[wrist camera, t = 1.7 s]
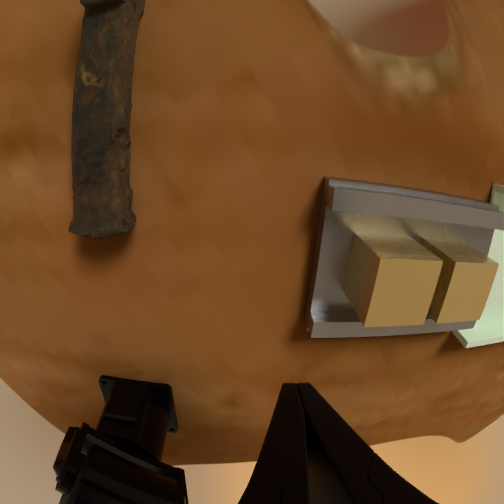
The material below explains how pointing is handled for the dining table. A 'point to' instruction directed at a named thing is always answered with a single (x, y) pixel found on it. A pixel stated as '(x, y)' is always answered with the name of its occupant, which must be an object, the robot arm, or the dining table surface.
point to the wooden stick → (104, 118)
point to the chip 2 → (460, 281)
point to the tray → (500, 298)
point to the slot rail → (384, 223)
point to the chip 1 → (391, 280)
